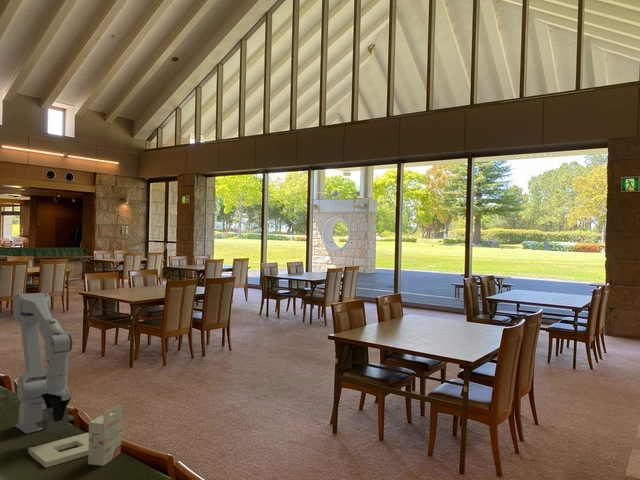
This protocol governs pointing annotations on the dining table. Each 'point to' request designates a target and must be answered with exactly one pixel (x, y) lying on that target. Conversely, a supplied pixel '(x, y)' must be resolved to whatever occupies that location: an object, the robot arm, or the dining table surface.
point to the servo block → (48, 420)
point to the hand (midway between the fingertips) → (55, 418)
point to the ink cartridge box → (105, 437)
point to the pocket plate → (50, 454)
